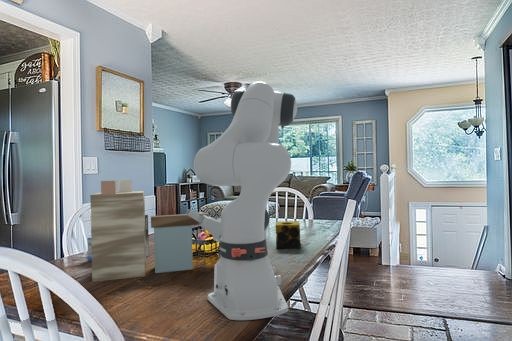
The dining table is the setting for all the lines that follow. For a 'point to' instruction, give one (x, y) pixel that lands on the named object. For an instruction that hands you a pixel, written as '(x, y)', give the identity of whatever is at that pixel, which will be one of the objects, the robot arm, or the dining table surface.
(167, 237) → the step
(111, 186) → the terracotta block
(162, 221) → the rail
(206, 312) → the dining table surface
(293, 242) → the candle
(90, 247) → the medicine box
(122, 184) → the cream block
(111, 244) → the grey wood block
